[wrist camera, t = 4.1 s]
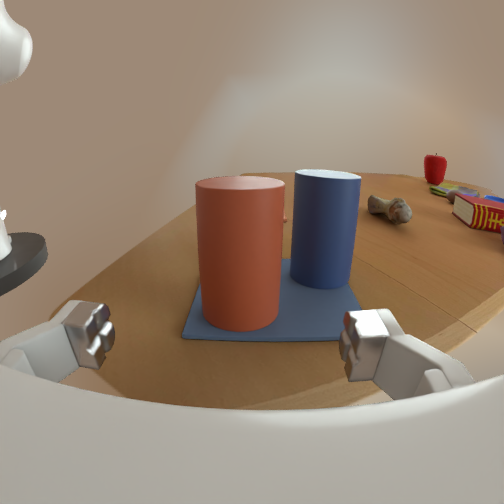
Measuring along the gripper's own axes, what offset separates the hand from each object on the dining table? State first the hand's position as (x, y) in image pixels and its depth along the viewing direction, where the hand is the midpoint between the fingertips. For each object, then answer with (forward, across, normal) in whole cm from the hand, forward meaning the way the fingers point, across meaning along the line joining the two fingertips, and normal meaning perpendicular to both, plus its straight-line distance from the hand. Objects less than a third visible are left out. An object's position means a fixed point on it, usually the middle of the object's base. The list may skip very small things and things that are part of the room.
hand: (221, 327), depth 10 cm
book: (+44, -55, +8) cm, 71 cm away
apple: (+109, -78, +8) cm, 134 cm away
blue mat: (+16, -3, +8) cm, 18 cm away
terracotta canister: (+12, 0, +7) cm, 14 cm away
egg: (+66, -58, +8) cm, 89 cm away
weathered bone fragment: (+43, -25, +8) cm, 50 cm away
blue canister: (+19, -7, +7) cm, 22 cm away
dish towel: (+82, -71, +8) cm, 109 cm away
